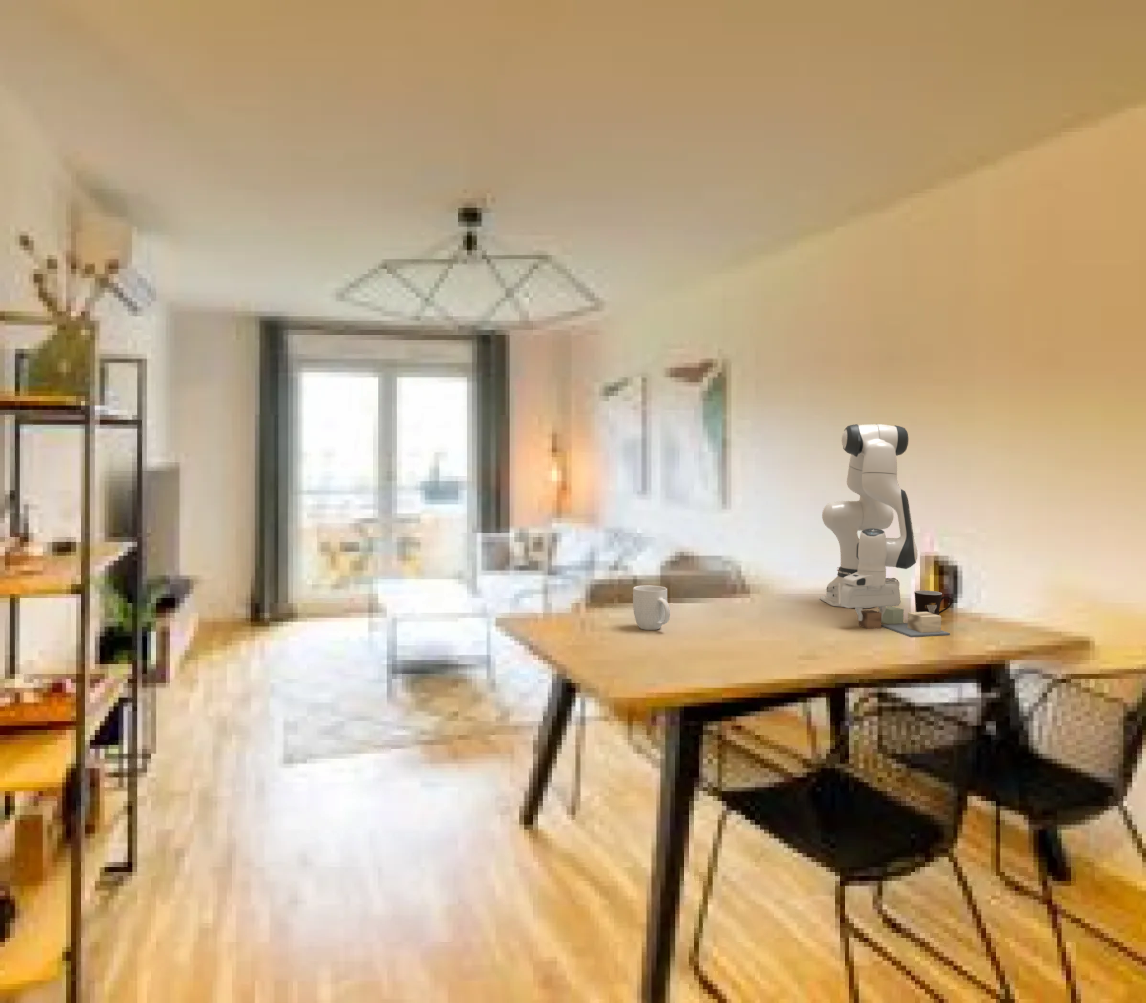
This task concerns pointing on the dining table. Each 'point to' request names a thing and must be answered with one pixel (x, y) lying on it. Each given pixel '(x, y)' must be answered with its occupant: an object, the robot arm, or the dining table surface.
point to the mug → (650, 606)
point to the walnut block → (871, 619)
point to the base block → (924, 622)
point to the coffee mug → (929, 601)
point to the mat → (905, 630)
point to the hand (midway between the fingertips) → (870, 620)
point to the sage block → (892, 615)
